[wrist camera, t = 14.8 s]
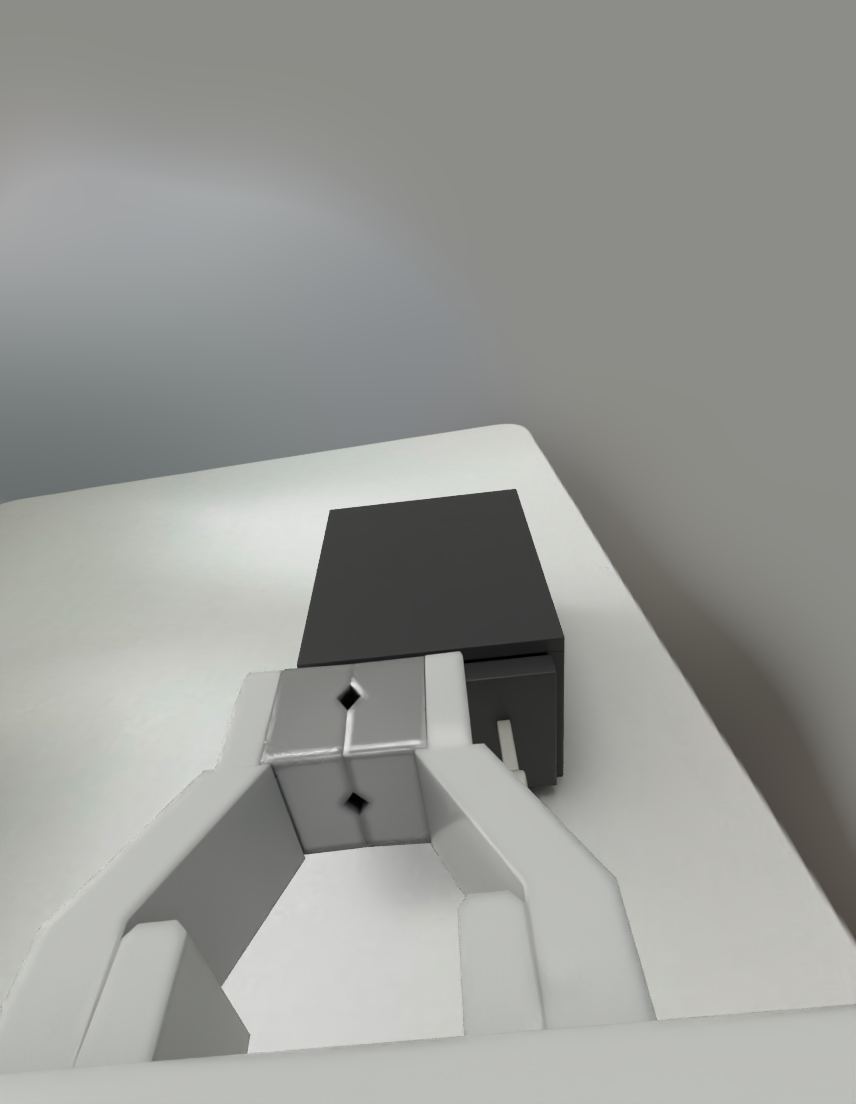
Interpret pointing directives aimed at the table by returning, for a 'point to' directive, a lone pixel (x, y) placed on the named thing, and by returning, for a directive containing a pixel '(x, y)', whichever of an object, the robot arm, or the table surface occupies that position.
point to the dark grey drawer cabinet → (433, 587)
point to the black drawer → (515, 713)
